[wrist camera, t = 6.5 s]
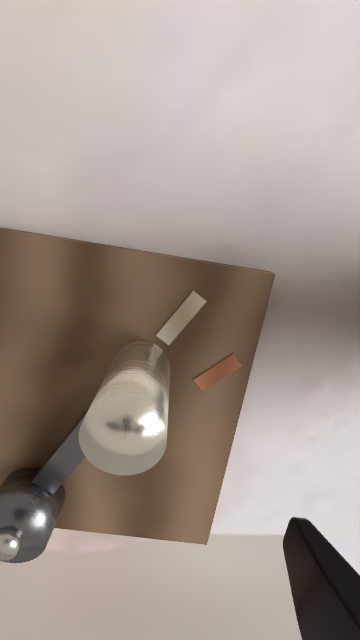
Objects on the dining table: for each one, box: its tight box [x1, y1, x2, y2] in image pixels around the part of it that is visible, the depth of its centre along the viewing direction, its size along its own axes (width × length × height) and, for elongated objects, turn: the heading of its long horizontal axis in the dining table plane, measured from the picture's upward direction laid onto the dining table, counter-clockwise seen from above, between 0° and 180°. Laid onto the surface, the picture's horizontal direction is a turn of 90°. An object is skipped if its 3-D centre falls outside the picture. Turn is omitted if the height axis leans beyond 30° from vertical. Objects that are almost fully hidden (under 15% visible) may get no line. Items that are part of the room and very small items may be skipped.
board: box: [0, 228, 275, 545], centre depth 19 cm, size 23×21×1 cm
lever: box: [0, 339, 170, 563], centre depth 16 cm, size 17×4×7 cm, turn 142°
